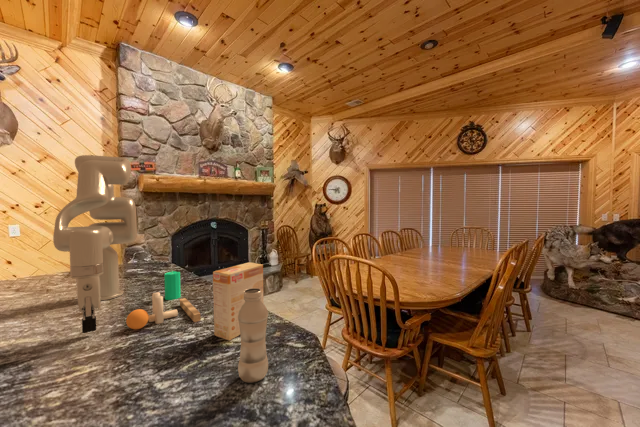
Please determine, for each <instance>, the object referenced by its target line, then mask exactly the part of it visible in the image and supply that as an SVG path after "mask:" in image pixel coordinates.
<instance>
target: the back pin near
mask: <svg viewBox="0 0 640 427" xmlns="http://www.w3.org/2000/svg"><path fill="white" fill-rule="evenodd" d="M163 312H164V297H163V295H160V296H157V297H155V321H154V324H155V325H159V324H163V323H164V320H165V319H164V318H163Z"/></svg>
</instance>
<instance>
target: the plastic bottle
mask: <svg viewBox="0 0 640 427" xmlns="http://www.w3.org/2000/svg"><path fill="white" fill-rule="evenodd" d="M261 298H262V296H261V289H258V288H251V289H247V290H245V291H244V300H245V303H244V304H243V305H242V307H241V309H240V310H239V314H238V320H239V327H240V335H239V336H240V351H239V359H238V365H237V366H238V367H237V371H238V372H237V373H238V376H239V378H240V380H242V381H243V382H244V383H249V384H251V383H257V382H260V381H262V380H263V379H264V378H265V377H266V375H267V373H268V371H269V360H268V355H267V346H266V344H267V343H266V337H267V336H266V335H267V334H266V333H267V324H268V317H269V311H268V308H267V307H266V305H265V304H263V303H262V301H261V300H260V299H261Z"/></svg>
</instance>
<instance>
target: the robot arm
mask: <svg viewBox="0 0 640 427" xmlns="http://www.w3.org/2000/svg"><path fill="white" fill-rule="evenodd" d="M74 165H75V168H76V171H77V172H78V173H77V185H76V197H75V198H74V199H73V200H71V201H69V202H68V203H67V204H66V205H65V206H63V208H62V209H61V210H60V211H59V212H58V214H57V215H56V217H55V220H54V227H53V228H54V229H53V237H52V238H53V240H52V241H53V245H54V248H55V249H56V250H57V251H59V252H63V253H65V252H69V266H70V267H69V268H70V269H69V270H70V273H69V274H70V278H71V279H75V280H76V282H75V283H76V296H77V305H78V310H79V311H78V312H79V313H82V318H81V329H82V334H86V333H91V332H96V331H97V316H96V315H95V314H96V313H95V311H96V310H100V309H101V306H102V305H101V302H102V301H107V300H111V299H114V298H115V299H116V298H119V297H121V296H122V295H123V294H124V290H123V289H120V279H119V278H120V276H119V254H118V252H117V251H116V249H114V248H113V247H112V246H113V245H122V244H132V243H135V241H136V240H137V237H138V227H137V226H138V225H137V208H136V203H135V200H134V199H133V198H131V197H124V196H115V188H114V185H120V186H121V185H123V186H124V185H127V184H128V183H129V181H130V179H131V173H132V165H131V162H130V160H129V159H128V158H126V157H121V156H107V155H93V154H91V155H90V154H88V155H87V154H85V155H84V154H83V155H78V156H77V157H75V158H74ZM88 212H89V216H90V217H91V218H92V219H93V220H98V221H99V220H100V221H101V220H102V222H94V223H91V224H89V225H87V226H69V224H70V223H71V221H72V220H73V219H75V218H76V217H78V216H81V215H83V214H85V213H88ZM109 220H113V221H114V220H122V221H114V222H113V221H109ZM103 221H104V222H103ZM105 221H106V222H105Z"/></svg>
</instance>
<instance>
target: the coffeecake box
mask: <svg viewBox="0 0 640 427" xmlns="http://www.w3.org/2000/svg"><path fill="white" fill-rule="evenodd" d="M212 288H213V289H212V290H213V294H212V296H213V329H214V332H213V333H214V336H216V337H218V338H221V339H224V340H227V341H231V340H233V339H235V338H237V337H239V336H240V327H239V320H238V314H239V310H240V309H241V307H242V305H243V304H244V303H245V300H244V291H245V290H247V289H251V288H258V289H261V296H262V298H261V299H260V300H261V301H262V303H263V304H264V298H265V296H264V264H263V263H262V264H261V263H257V262H256V263H255V262H245V263H241V264H237V265H233V266H230V267H227V268H226V267H225V268H222V269H218V270H215V271H212ZM264 305H265V304H264Z"/></svg>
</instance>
